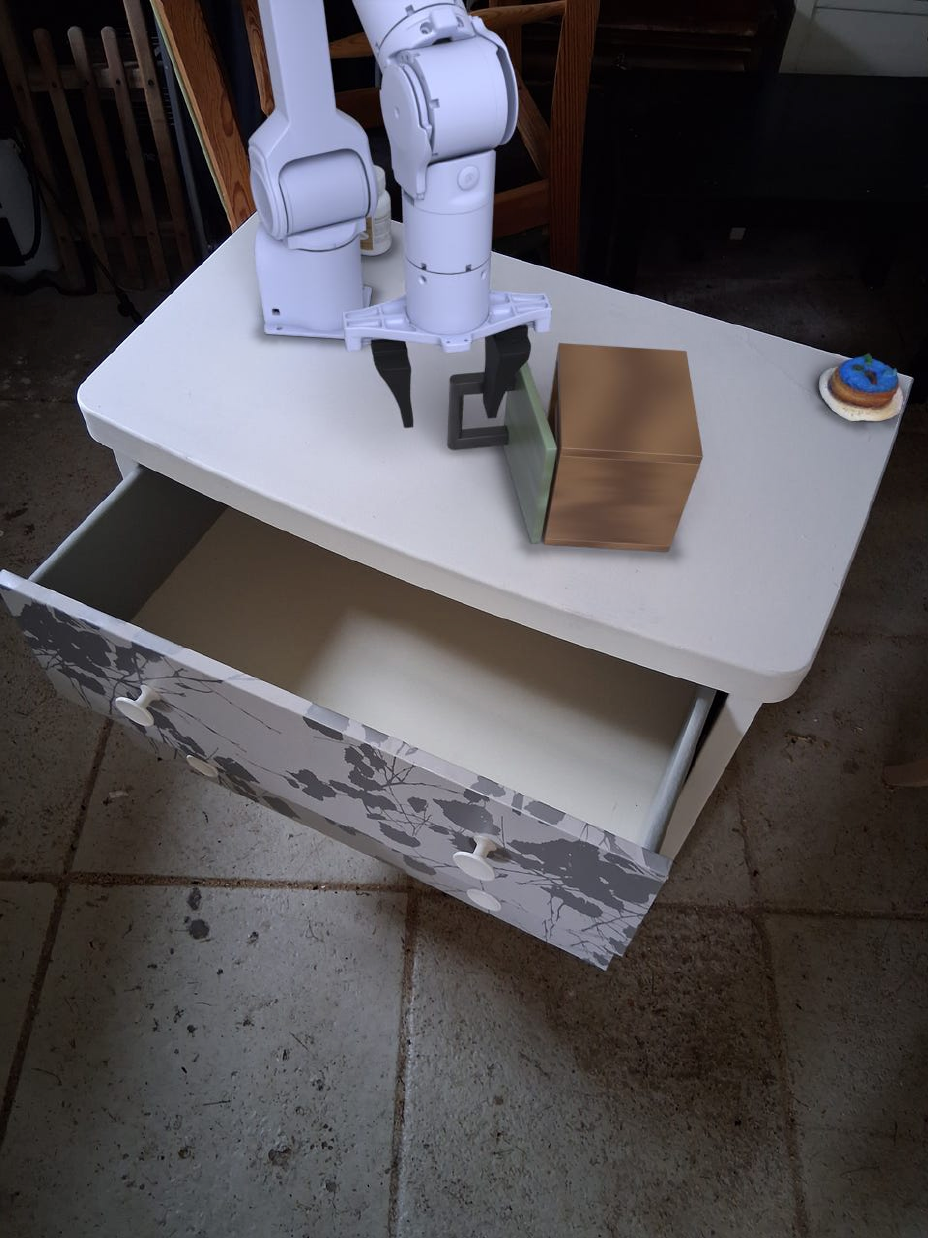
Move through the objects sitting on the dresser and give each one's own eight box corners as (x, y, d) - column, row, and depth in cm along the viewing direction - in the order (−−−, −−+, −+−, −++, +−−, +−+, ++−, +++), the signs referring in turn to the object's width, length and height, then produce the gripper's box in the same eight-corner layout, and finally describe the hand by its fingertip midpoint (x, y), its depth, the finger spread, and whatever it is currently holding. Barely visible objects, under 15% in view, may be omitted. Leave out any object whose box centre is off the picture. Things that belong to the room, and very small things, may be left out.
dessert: (833, 420, 80) (847, 351, 78) (800, 412, 86) (812, 348, 84) (916, 426, 81) (932, 358, 79) (878, 417, 87) (891, 354, 85)
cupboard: (543, 545, 71) (561, 447, 62) (542, 443, 78) (558, 342, 69) (668, 552, 71) (703, 456, 62) (656, 450, 78) (686, 350, 69)
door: (468, 551, 70) (475, 456, 62) (443, 447, 77) (446, 349, 68) (540, 542, 71) (557, 448, 62) (510, 441, 77) (521, 343, 69)
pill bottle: (341, 243, 94) (335, 171, 87) (372, 228, 96) (369, 156, 89) (368, 262, 92) (364, 189, 86) (400, 246, 94) (398, 174, 88)
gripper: (343, 295, 55) (360, 460, 66) (570, 274, 57) (550, 438, 67) (332, 235, 59) (349, 399, 70) (544, 217, 61) (529, 380, 72)
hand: (447, 414), depth 69 cm, fingers open, 6 cm apart
